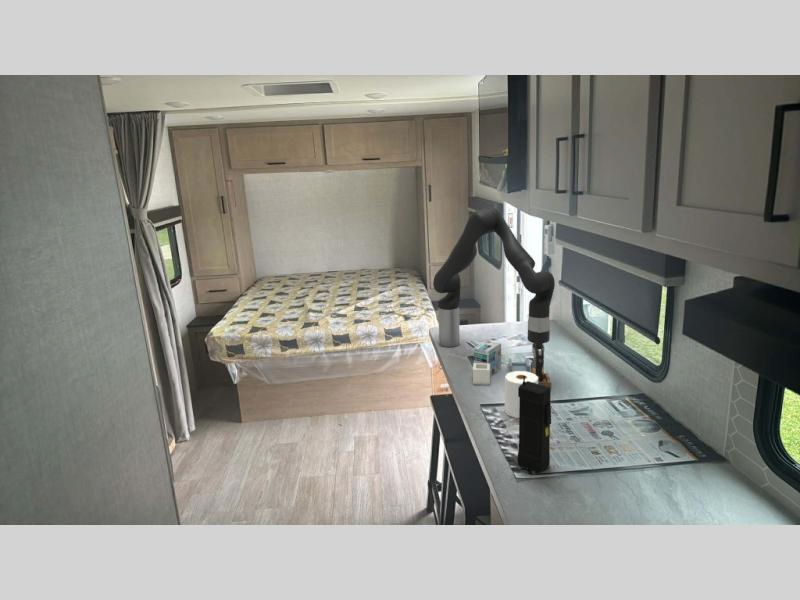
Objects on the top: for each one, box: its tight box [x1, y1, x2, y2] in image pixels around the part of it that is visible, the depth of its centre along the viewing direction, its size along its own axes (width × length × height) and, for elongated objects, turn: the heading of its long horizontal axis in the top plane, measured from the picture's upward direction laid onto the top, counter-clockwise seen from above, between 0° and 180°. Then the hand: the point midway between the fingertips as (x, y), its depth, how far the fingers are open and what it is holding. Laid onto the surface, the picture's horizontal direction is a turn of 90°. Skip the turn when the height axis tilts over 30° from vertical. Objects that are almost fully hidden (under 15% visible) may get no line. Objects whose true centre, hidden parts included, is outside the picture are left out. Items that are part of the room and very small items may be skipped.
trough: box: [538, 373, 552, 389], centre depth 187 cm, size 8×8×2 cm
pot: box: [472, 362, 491, 386], centre depth 191 cm, size 6×6×6 cm
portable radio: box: [517, 375, 552, 474], centre depth 135 cm, size 8×6×25 cm
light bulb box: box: [473, 340, 502, 377], centre depth 200 cm, size 11×7×11 cm, turn 143°
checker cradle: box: [505, 357, 532, 374], centre depth 198 cm, size 11×12×4 cm
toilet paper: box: [504, 371, 538, 419], centre depth 166 cm, size 10×10×12 cm
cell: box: [531, 357, 545, 382], centre depth 186 cm, size 4×4×9 cm
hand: (537, 370), depth 186 cm, fingers open, 8 cm apart
